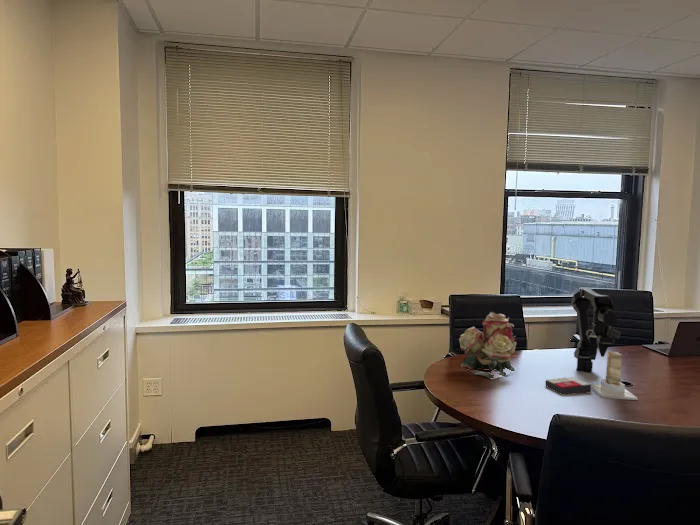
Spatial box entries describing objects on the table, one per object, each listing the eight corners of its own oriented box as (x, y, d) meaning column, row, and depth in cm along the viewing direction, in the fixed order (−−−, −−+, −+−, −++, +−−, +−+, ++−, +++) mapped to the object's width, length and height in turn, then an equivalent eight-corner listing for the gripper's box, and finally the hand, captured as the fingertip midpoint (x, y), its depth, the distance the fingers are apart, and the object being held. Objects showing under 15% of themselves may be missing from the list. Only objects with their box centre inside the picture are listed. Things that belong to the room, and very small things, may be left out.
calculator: (545, 378, 198) (573, 375, 201) (544, 388, 198) (573, 384, 202) (561, 387, 187) (591, 383, 191) (561, 396, 188) (591, 392, 191)
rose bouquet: (451, 366, 225) (453, 309, 223) (498, 361, 235) (500, 307, 233) (481, 382, 201) (484, 318, 199) (532, 376, 211) (535, 315, 209)
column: (605, 380, 193) (607, 351, 192) (615, 380, 192) (617, 352, 191) (609, 383, 188) (611, 354, 188) (620, 384, 188) (622, 354, 187)
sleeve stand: (588, 386, 198) (589, 374, 198) (621, 388, 196) (622, 376, 196) (601, 397, 185) (602, 385, 184) (637, 400, 183) (638, 387, 182)
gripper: (627, 326, 194) (626, 360, 195) (610, 319, 212) (609, 350, 213) (600, 324, 196) (599, 358, 197) (586, 318, 215) (584, 349, 215)
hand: (598, 354), depth 205 cm, fingers open, 9 cm apart
